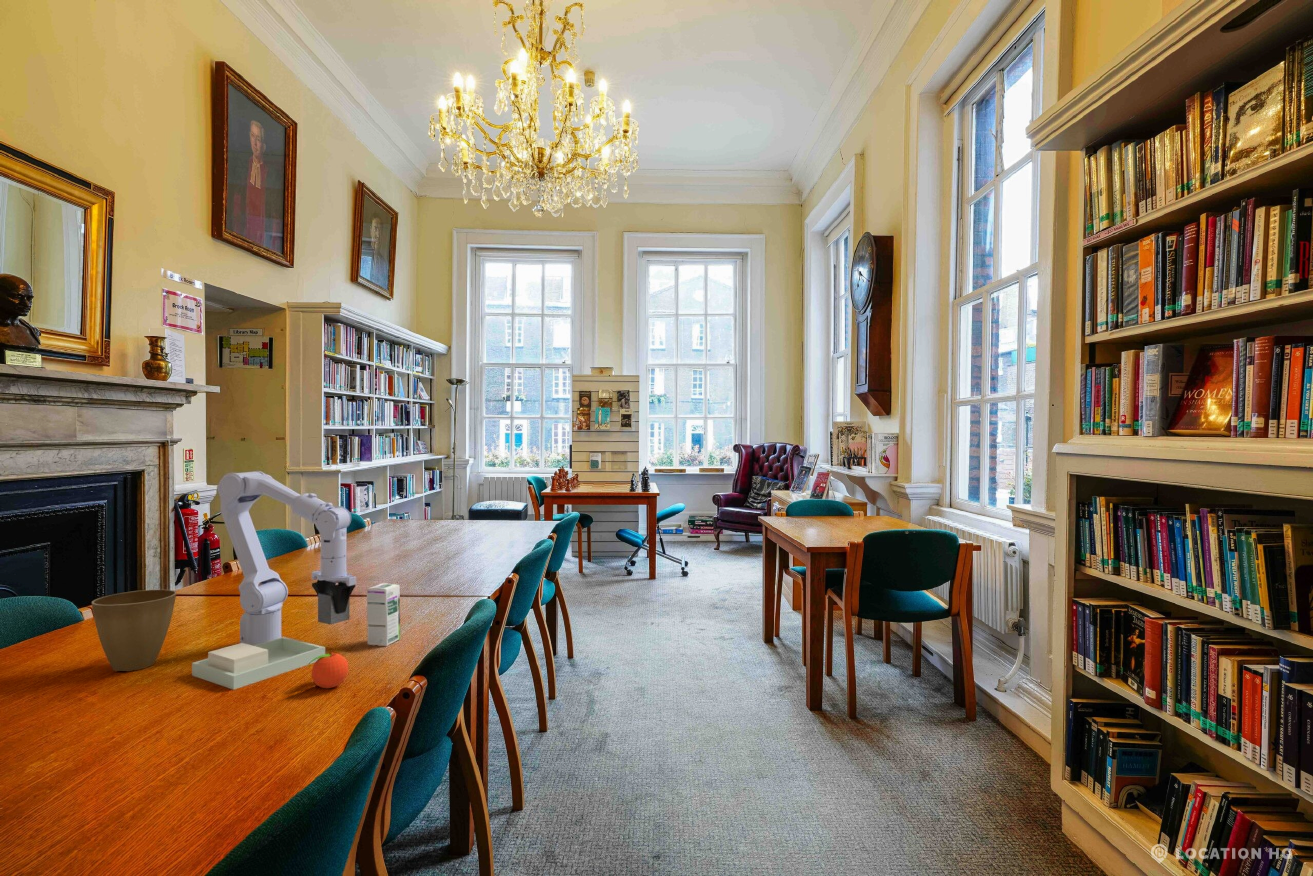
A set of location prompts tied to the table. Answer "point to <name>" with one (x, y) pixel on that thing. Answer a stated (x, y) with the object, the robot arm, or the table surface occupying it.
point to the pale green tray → (280, 660)
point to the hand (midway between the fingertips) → (333, 611)
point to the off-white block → (238, 658)
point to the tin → (330, 609)
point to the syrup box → (383, 614)
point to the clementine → (329, 670)
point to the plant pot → (133, 626)
